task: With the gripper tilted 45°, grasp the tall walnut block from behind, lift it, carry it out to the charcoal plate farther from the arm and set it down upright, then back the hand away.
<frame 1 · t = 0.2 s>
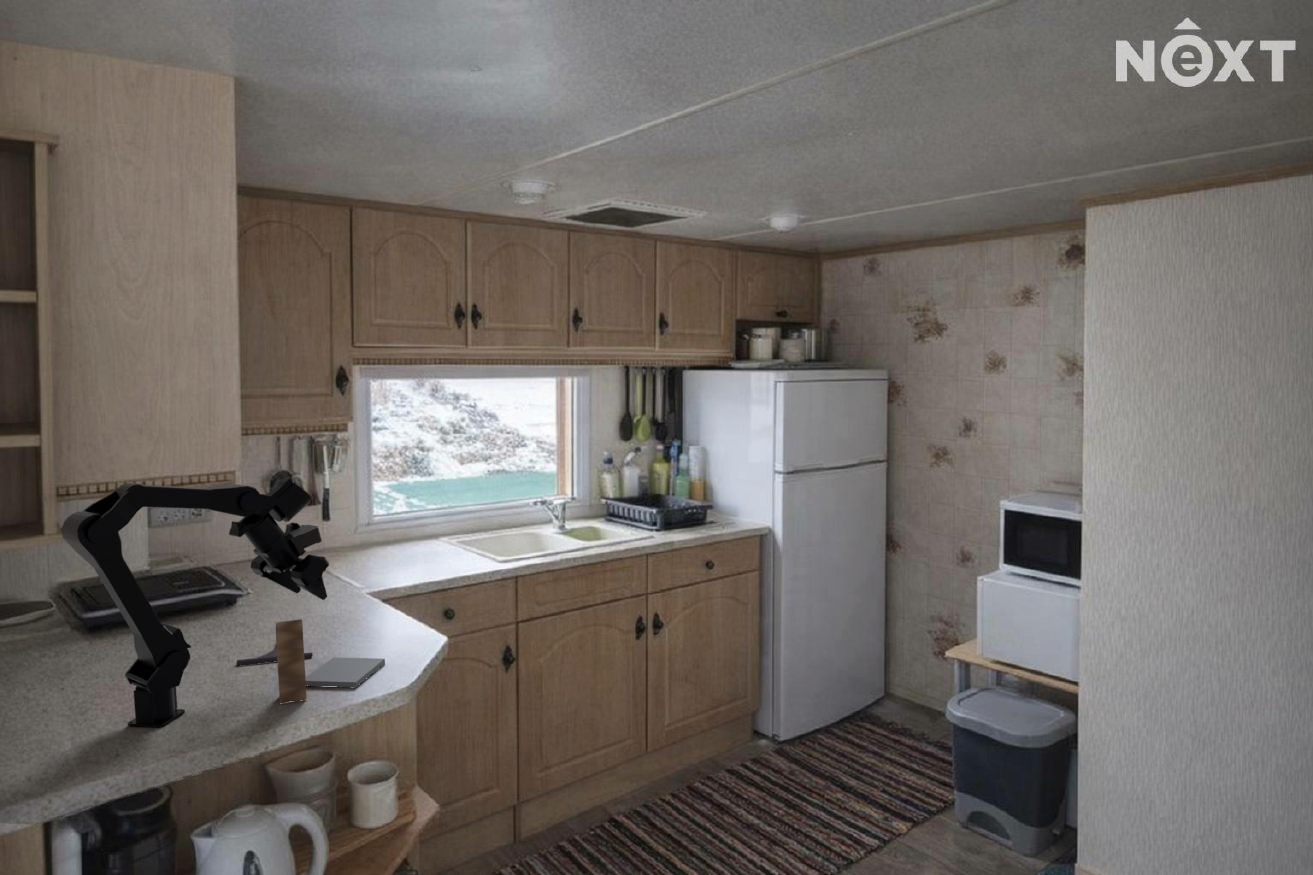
hand: (311, 594, 175), 15 cm above the table, tool tilted 35°, fingers open, 9 cm apart
squeegee: (280, 654, 187), on the table
far plate: (344, 675, 172), on the table
walnut block: (293, 698, 160), on the table
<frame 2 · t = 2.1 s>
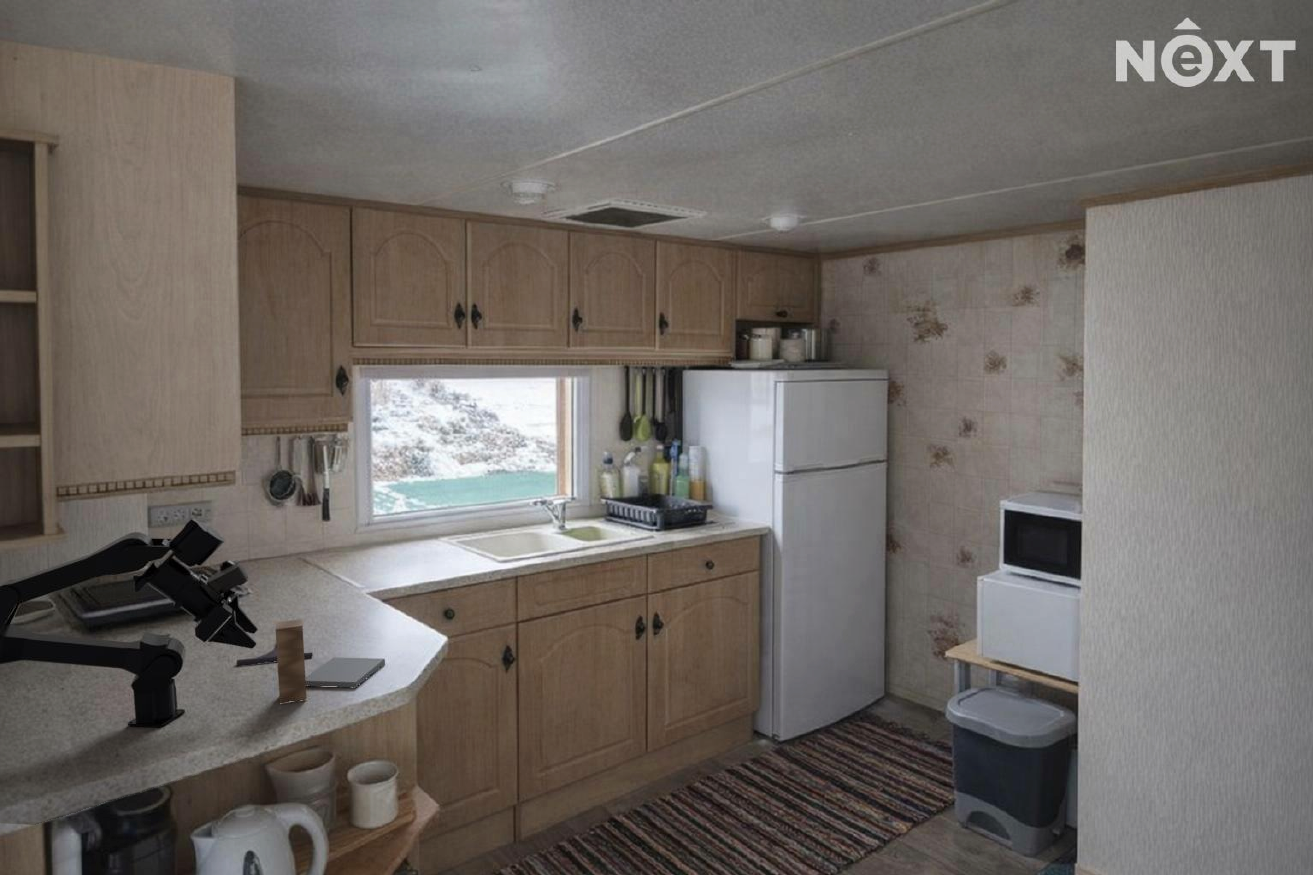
hand: (255, 638, 157), 12 cm above the table, tool tilted 45°, fingers open, 9 cm apart
nothing on the table moved.
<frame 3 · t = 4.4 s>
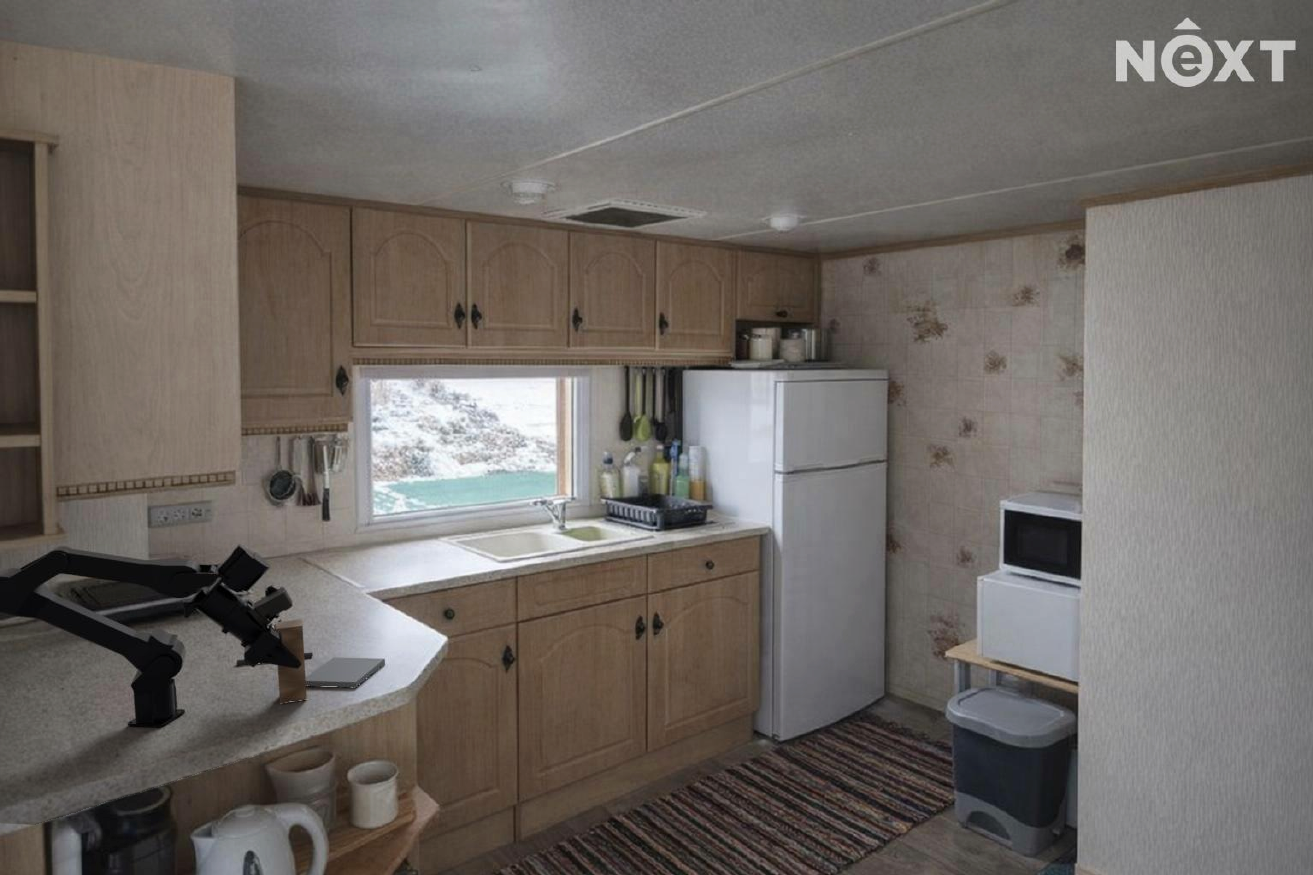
hand: (299, 662, 160), 7 cm above the table, tool tilted 45°, fingers closed on walnut block, 4 cm apart
walnut block: (293, 698, 160), on the table, touching gripper
everything else where it was.
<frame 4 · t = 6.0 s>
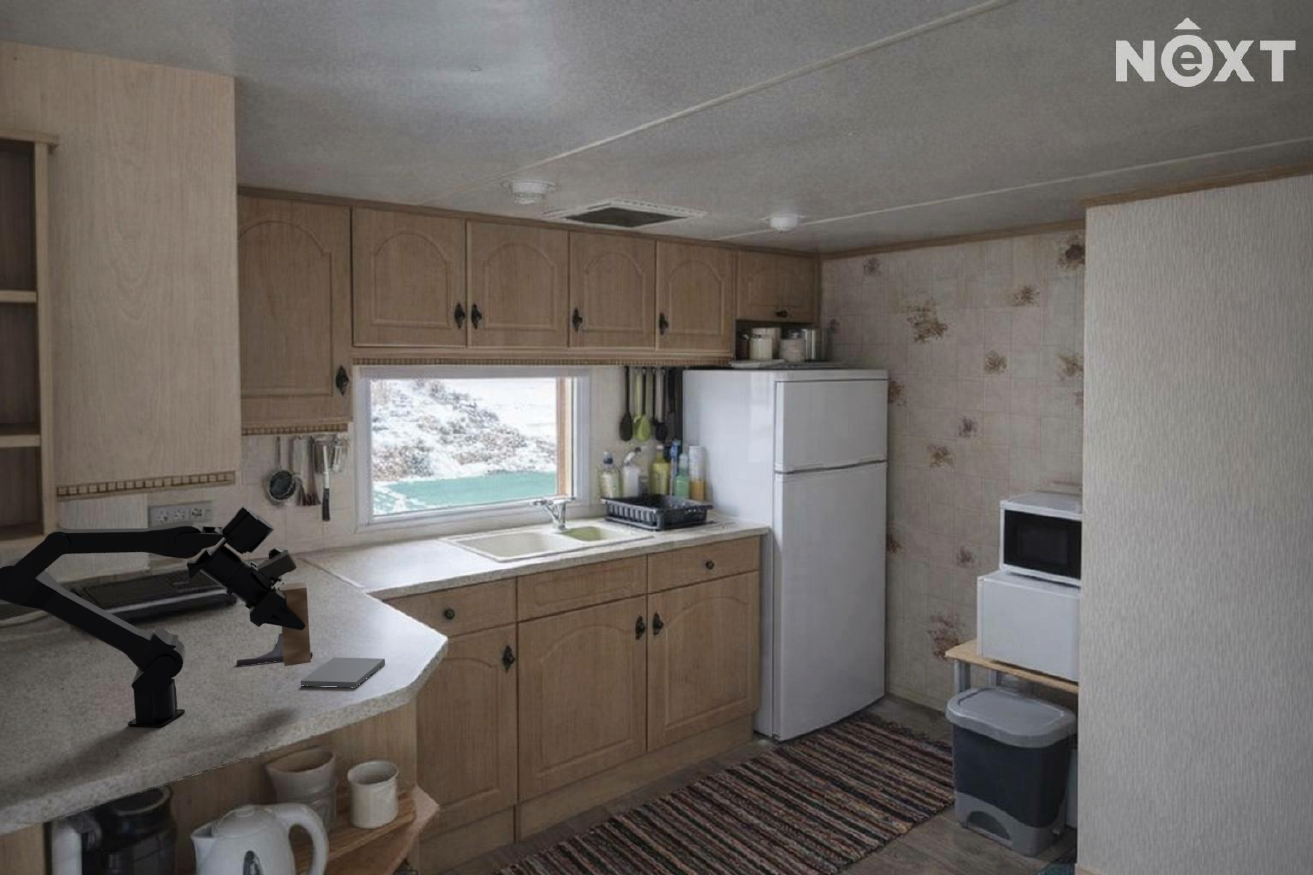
hand: (303, 624, 161), 13 cm above the table, tool tilted 45°, fingers closed on walnut block, 4 cm apart
walnut block: (297, 660, 161), point 7 cm above the table, touching gripper
everything else where it was.
when the fingers open (9 cm above the table, at t = 8.0 s): walnut block drops 2 cm, resting on far plate.
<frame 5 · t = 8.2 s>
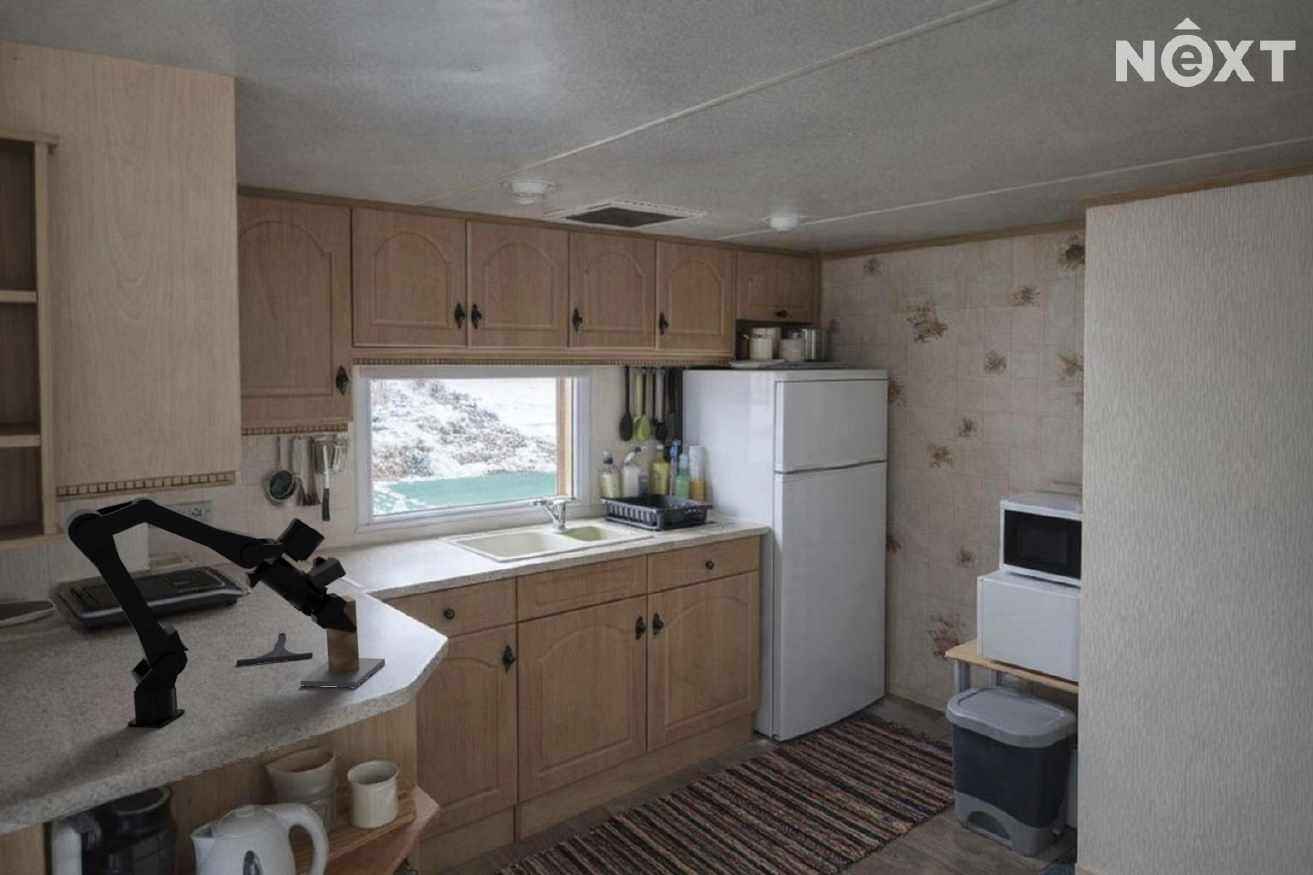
hand: (349, 626, 172), 10 cm above the table, tool tilted 45°, fingers open, 7 cm apart
walnut block: (344, 668, 172), point 1 cm above the table, touching far plate
everything else where it was.
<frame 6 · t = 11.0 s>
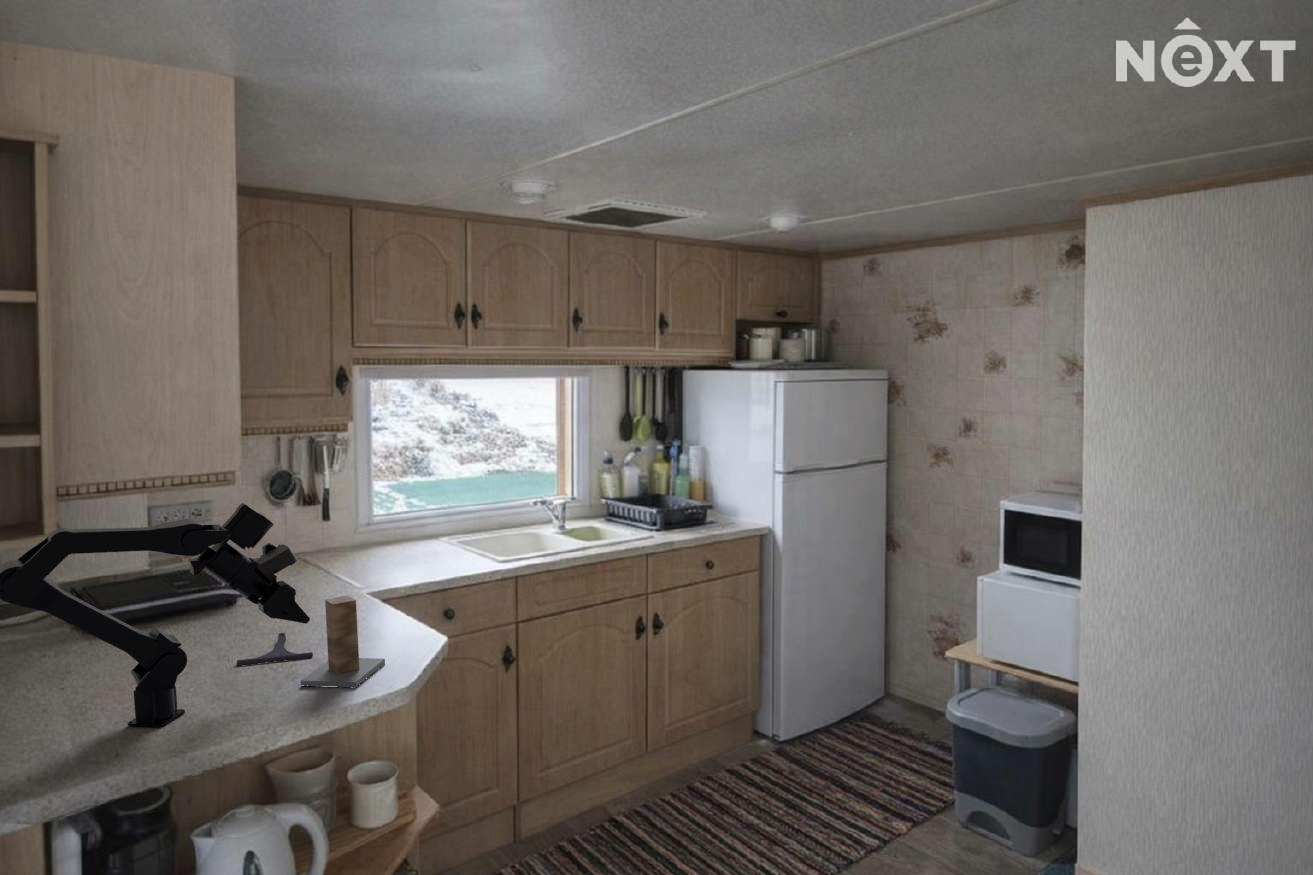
hand: (301, 615, 166), 13 cm above the table, tool tilted 45°, fingers open, 9 cm apart
nothing on the table moved.
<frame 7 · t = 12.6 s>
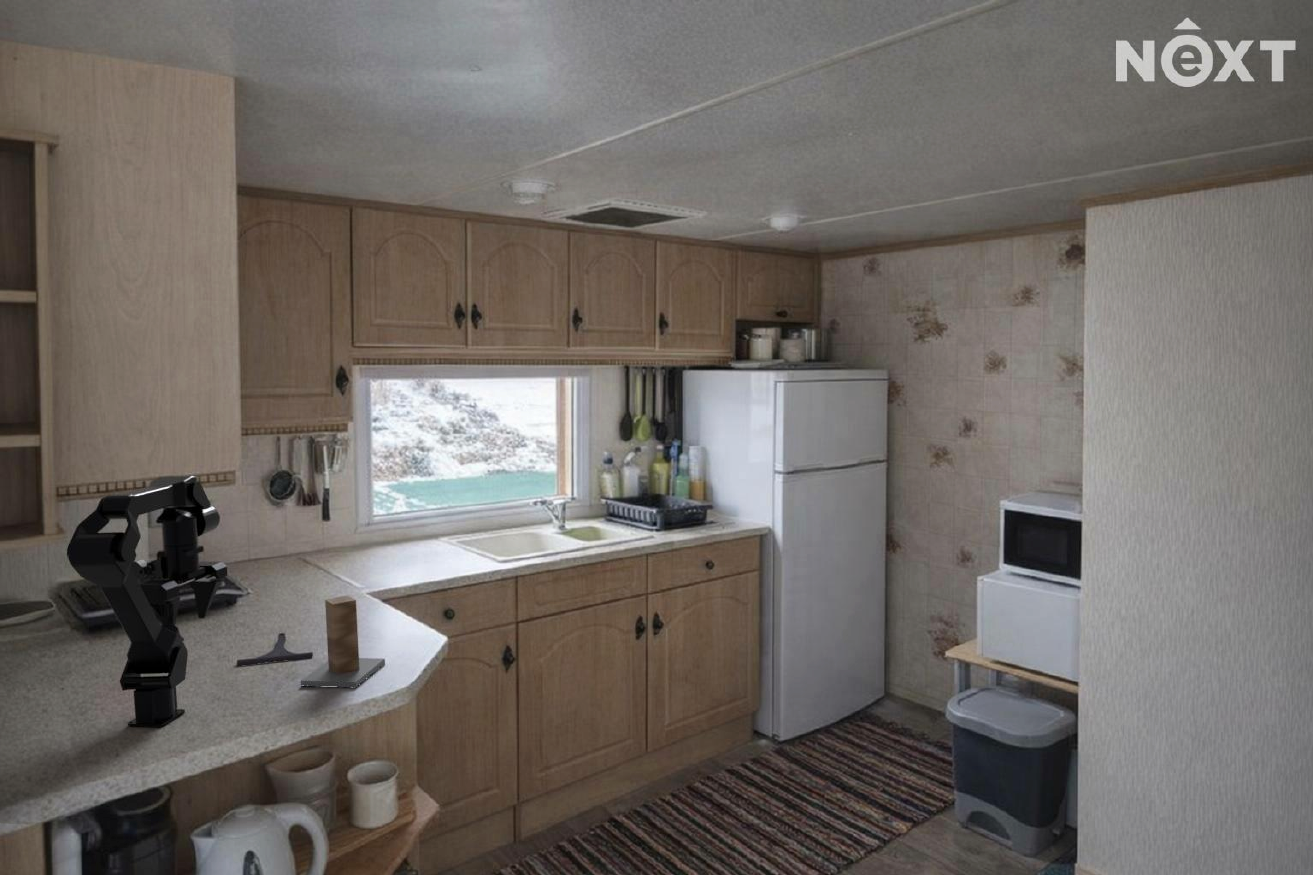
hand: (186, 625, 163), 13 cm above the table, tool pointing down, fingers open, 9 cm apart
nothing on the table moved.
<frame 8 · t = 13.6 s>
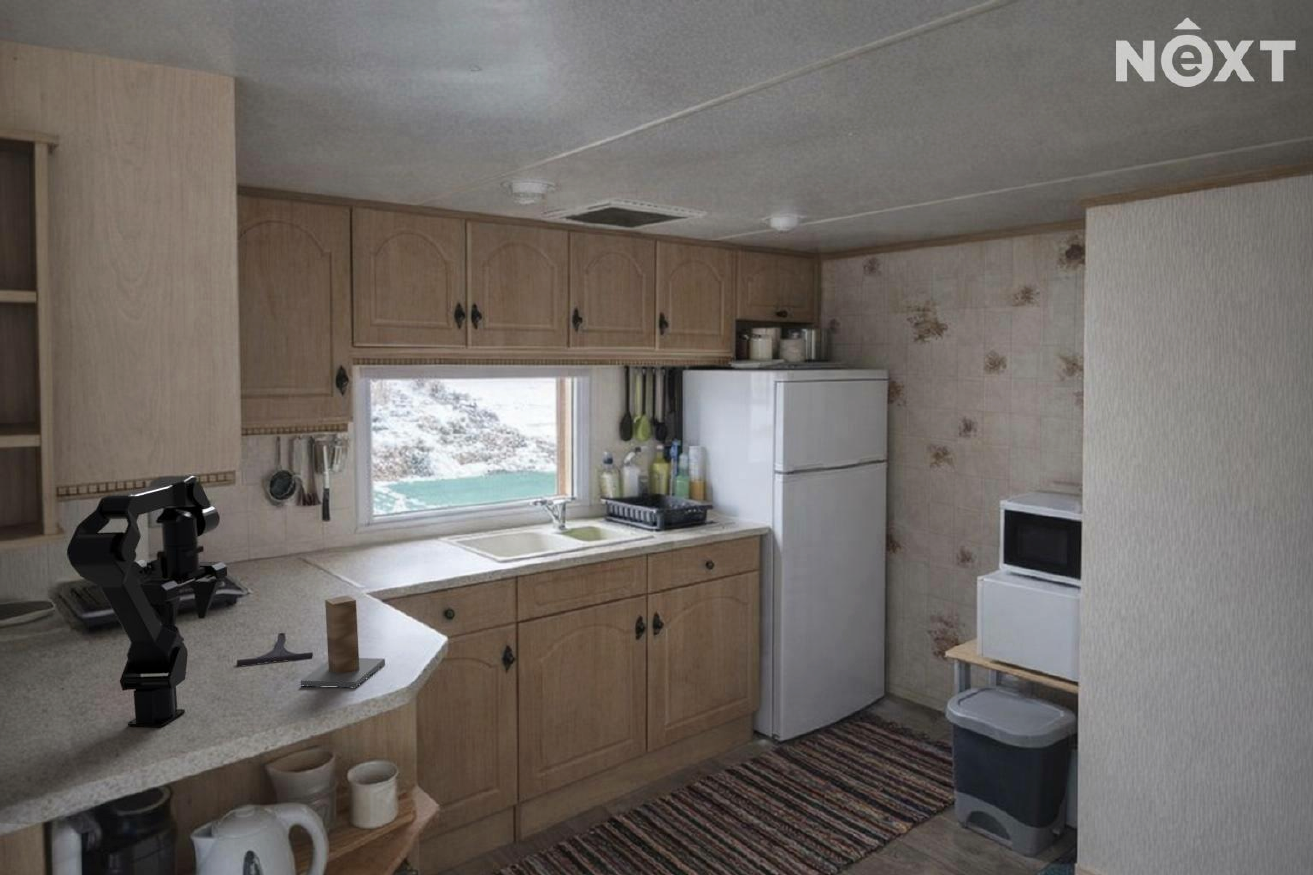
hand: (186, 625, 163), 13 cm above the table, tool pointing down, fingers open, 9 cm apart
nothing on the table moved.
at the end: walnut block inside the target area on the far plate (0.0 cm from its centre), point 1.2 cm above the far plate's base; walnut block tilted 0°; the gripper is holding nothing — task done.
